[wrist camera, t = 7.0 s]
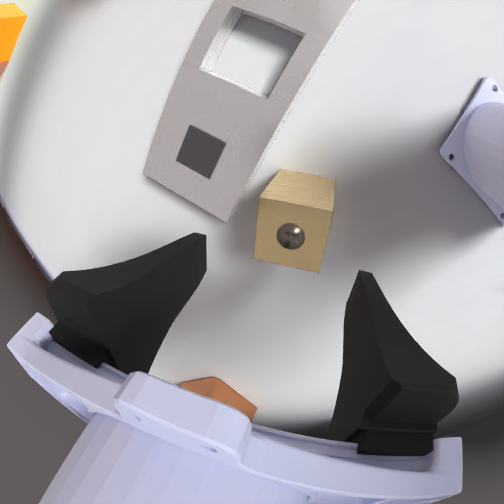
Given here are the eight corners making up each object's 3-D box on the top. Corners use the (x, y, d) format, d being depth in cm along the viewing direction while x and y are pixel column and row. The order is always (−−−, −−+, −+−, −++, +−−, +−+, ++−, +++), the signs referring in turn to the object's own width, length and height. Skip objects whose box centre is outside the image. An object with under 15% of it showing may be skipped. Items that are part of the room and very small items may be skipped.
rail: (384, -36, 8) (387, -48, 7) (234, 212, 23) (225, 223, 21) (281, -73, 8) (275, -86, 7) (156, 166, 22) (142, 173, 21)
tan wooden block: (334, 179, 19) (333, 211, 14) (325, 228, 21) (318, 273, 16) (280, 169, 20) (258, 197, 15) (275, 217, 22) (253, 259, 17)
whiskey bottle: (179, 382, 42) (96, 532, 16) (216, 375, 37) (123, 561, 11) (220, 413, 45) (155, 553, 19) (260, 409, 40) (192, 577, 14)
